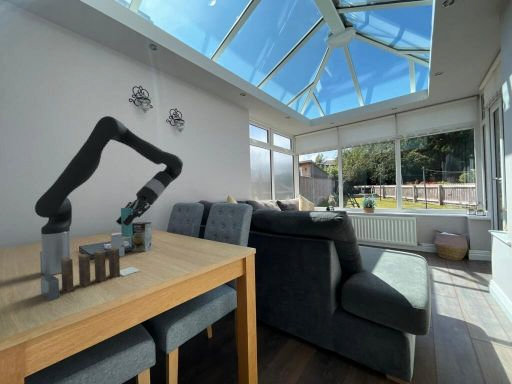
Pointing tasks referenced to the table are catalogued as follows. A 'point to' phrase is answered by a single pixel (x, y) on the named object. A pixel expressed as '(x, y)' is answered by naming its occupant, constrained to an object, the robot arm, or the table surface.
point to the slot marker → (128, 271)
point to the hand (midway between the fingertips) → (121, 223)
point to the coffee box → (141, 236)
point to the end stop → (50, 287)
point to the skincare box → (118, 243)
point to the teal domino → (126, 230)
